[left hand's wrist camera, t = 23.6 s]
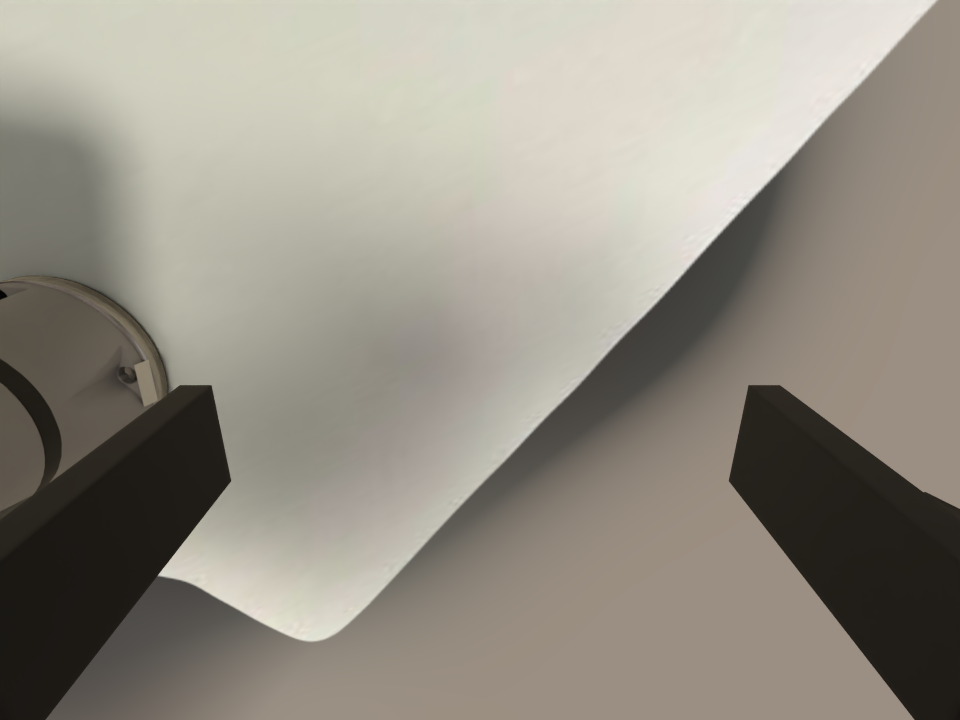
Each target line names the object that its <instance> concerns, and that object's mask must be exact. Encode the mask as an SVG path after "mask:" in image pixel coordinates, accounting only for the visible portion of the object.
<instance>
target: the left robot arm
mask: <svg viewBox="0 0 960 720" xmlns="http://www.w3.org/2000/svg"><path fill="white" fill-rule="evenodd" d="M230 482H231V478H230V473H229V468H228V463H227V458H226V454H225V449H224V444H223V439H222V434H221V429H220V425H219V420H218V415H217V410H216V405H215V400H214V396H213V391H212V386H211V385H180V386H179V387H177V388H176V389H174V390H173V391H172V392H170V393H169V394H168V395H167V381H166V376H165V371H164V368H163V365H162V362H161V359H160V357H159V355H158V352H157V351H156V349H155V347H154V345H153V343H152V342H151V340H150V339H149V337H148V336H147V334H146V333H145V332H144V331H143V329H142V328H141V327H140V326H139V324H138V323H137V322H136V321H135V320H134V319H133V318H132V317H131V316H130V315H129V314H128V313H127V312H125V311H124V310H123V309H122V308H121V307H119V306H118V305H117V304H116V303H114V302H113V301H111V300H110V299H108V298H107V297H105V296H103V295H102V294H100V293H98V292H96V291H94V290H92V289H90V288H88V287H86V286H83V285H80V284H78V283H75V282H72V281H68V280H65V279H60V278H55V277H47V276H25V277H19V278H13V279H9V280H5V281H1V282H0V720H45V719H46V718H47V717H48V716H49V714H50V713H51V712H52V710H53V709H54V708H55V707H56V705H57V704H58V703H59V702H60V700H61V699H62V698H63V696H64V695H65V694H66V693H67V691H68V690H69V689H70V687H71V686H72V685H73V684H74V682H75V681H76V680H77V678H78V677H79V676H80V675H81V673H82V672H83V671H84V669H85V668H86V667H87V666H88V664H89V663H90V662H91V660H92V659H93V658H94V657H95V655H96V654H97V653H98V651H99V650H100V649H101V647H102V646H103V645H104V644H105V642H106V641H107V640H108V638H109V637H110V636H111V635H112V633H113V632H114V631H115V630H116V628H117V627H118V626H119V624H120V623H121V622H122V621H123V619H124V618H125V617H126V615H127V614H128V613H129V612H130V610H131V609H132V608H133V606H134V605H135V604H136V602H137V601H138V600H139V599H140V597H141V596H142V595H143V594H144V592H145V591H146V590H147V588H148V587H149V586H150V585H151V583H152V582H153V581H154V579H155V578H156V577H157V576H158V574H159V573H160V572H161V570H162V569H163V568H164V567H165V565H166V564H167V563H168V561H169V560H170V559H171V558H172V556H173V555H174V554H175V552H176V551H177V550H178V549H179V547H180V546H181V545H182V543H183V542H184V541H185V540H186V538H187V537H188V536H189V534H190V533H191V532H192V531H193V529H194V528H195V527H196V526H197V524H198V523H199V522H200V520H201V519H202V518H203V517H204V515H205V514H206V513H207V511H208V510H209V509H210V508H211V506H212V505H213V504H214V502H215V501H216V500H217V499H218V497H219V496H220V495H221V493H222V492H223V491H224V490H225V488H226V487H227V486H228V484H229V483H230ZM729 482H730V483H731V484H732V486H733V487H734V488H735V490H736V491H737V492H738V493H739V495H740V496H741V497H742V499H743V500H744V501H745V502H746V504H747V505H748V506H749V507H750V509H751V510H752V511H753V513H754V514H755V515H756V517H757V518H758V519H759V520H760V522H761V523H762V524H763V526H764V527H765V528H766V529H767V531H768V532H769V533H770V534H771V536H772V537H773V538H774V540H775V541H776V542H777V543H778V545H779V546H780V547H781V549H782V550H783V551H784V552H785V554H786V555H787V556H788V558H789V559H790V560H791V561H792V563H793V564H794V565H795V567H796V568H797V569H798V570H799V572H800V573H801V574H802V576H803V577H804V578H805V579H806V581H807V582H808V583H809V585H810V586H811V587H812V588H813V590H814V591H815V592H816V594H817V595H818V596H819V597H820V599H821V600H822V601H823V603H824V604H825V605H826V606H827V608H828V609H829V610H830V612H831V613H832V614H833V615H834V617H835V618H836V619H837V621H838V622H839V623H840V624H841V626H842V627H843V628H844V630H845V631H846V632H847V633H848V635H849V636H850V637H851V639H852V640H853V641H854V642H855V644H856V645H857V646H858V648H859V649H860V650H861V651H862V653H863V654H864V655H865V657H866V658H867V659H868V660H869V662H870V663H871V664H872V666H873V667H874V668H875V669H876V671H877V672H878V673H879V674H880V676H881V677H882V678H883V680H884V681H885V682H886V684H887V685H888V686H889V687H890V689H891V690H892V691H893V693H894V694H895V695H896V696H897V698H898V699H899V700H900V702H901V703H902V704H903V705H904V707H905V708H906V709H907V710H908V712H909V713H910V714H911V716H912V717H913V718H914V720H960V509H959V508H957V507H955V506H952V505H950V504H948V503H946V502H944V501H942V500H940V499H938V498H936V497H934V496H932V495H930V494H928V493H926V492H922V491H921V490H919V489H918V488H917V487H915V486H914V485H913V484H911V483H910V482H909V481H907V480H906V479H905V478H903V477H902V476H901V475H899V474H898V473H897V472H895V471H894V470H893V469H891V468H890V467H889V466H887V465H886V464H885V463H883V462H882V461H880V460H879V459H878V458H876V457H875V456H874V455H873V454H871V453H870V452H868V451H867V450H866V449H864V448H863V447H862V446H860V445H859V444H858V443H856V442H855V441H854V440H852V439H851V438H850V437H848V436H847V435H846V434H844V433H843V432H842V431H840V430H839V429H838V428H836V427H835V426H834V425H832V424H831V423H830V422H828V421H827V420H826V419H824V418H823V417H822V416H820V415H819V414H818V413H816V412H815V411H814V410H812V409H811V408H810V407H808V406H807V405H806V404H804V403H803V402H802V401H800V400H799V399H798V398H796V397H795V396H794V395H792V394H791V393H790V392H788V391H787V390H786V389H784V388H783V387H781V386H780V385H749V386H748V391H747V396H746V401H745V405H744V410H743V415H742V420H741V425H740V430H739V434H738V439H737V444H736V449H735V454H734V458H733V463H732V468H731V473H730V478H729Z"/></svg>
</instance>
